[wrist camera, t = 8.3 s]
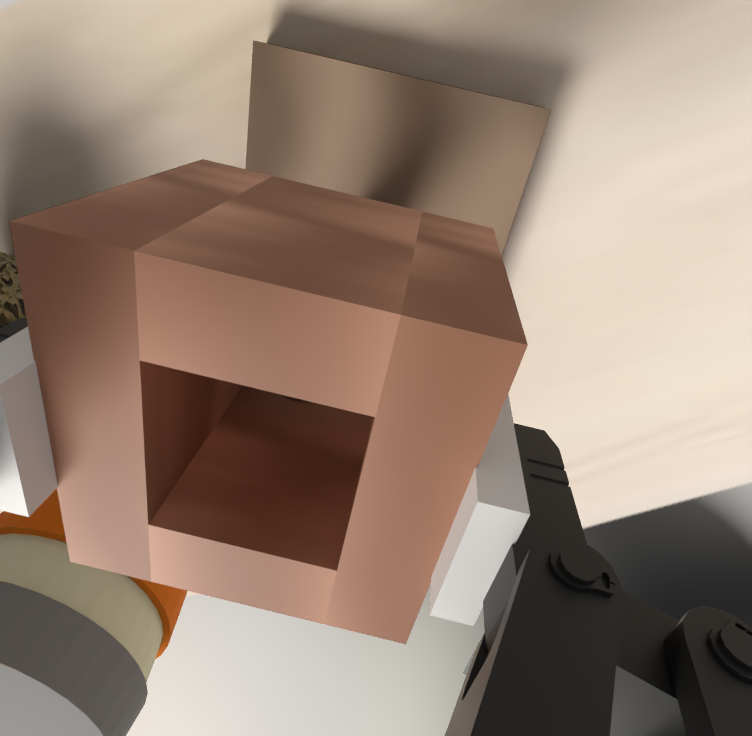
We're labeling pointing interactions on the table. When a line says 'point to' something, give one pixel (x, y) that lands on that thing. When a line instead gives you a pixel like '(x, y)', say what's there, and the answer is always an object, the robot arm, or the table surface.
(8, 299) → the cup
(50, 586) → the reusable coffee cup
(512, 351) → the brown open box
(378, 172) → the brown square board
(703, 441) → the table surface
